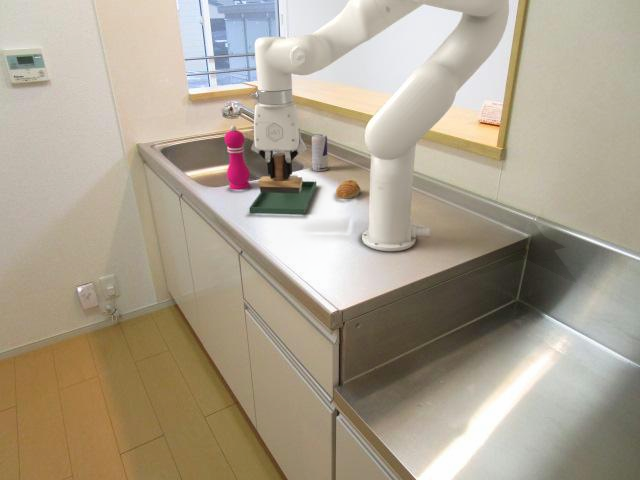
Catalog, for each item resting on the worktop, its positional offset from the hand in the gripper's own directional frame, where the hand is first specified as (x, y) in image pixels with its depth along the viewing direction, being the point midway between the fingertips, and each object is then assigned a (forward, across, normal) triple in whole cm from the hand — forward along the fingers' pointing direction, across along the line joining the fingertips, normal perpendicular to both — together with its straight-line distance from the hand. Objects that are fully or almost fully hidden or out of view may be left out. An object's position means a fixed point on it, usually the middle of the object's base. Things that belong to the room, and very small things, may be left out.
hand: (280, 176), depth 108 cm
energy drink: (+14, +2, +53) cm, 55 cm away
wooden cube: (+13, -4, +28) cm, 31 cm away
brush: (+4, 0, 0) cm, 4 cm away
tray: (+14, -4, +21) cm, 25 cm away
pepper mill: (+15, -21, +30) cm, 40 cm away
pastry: (+14, +14, +27) cm, 33 cm away
